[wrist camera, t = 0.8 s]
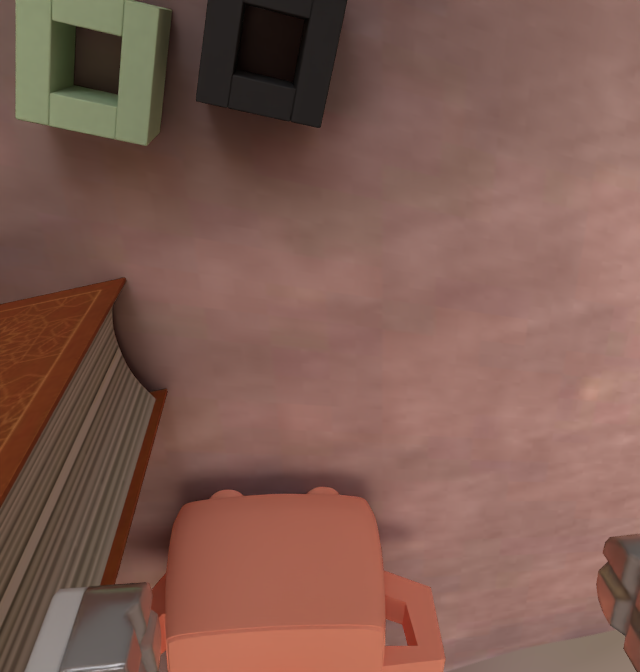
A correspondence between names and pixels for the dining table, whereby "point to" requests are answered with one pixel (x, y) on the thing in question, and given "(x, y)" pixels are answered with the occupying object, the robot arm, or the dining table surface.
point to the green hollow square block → (58, 67)
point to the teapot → (288, 589)
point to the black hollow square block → (263, 91)
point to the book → (65, 454)
